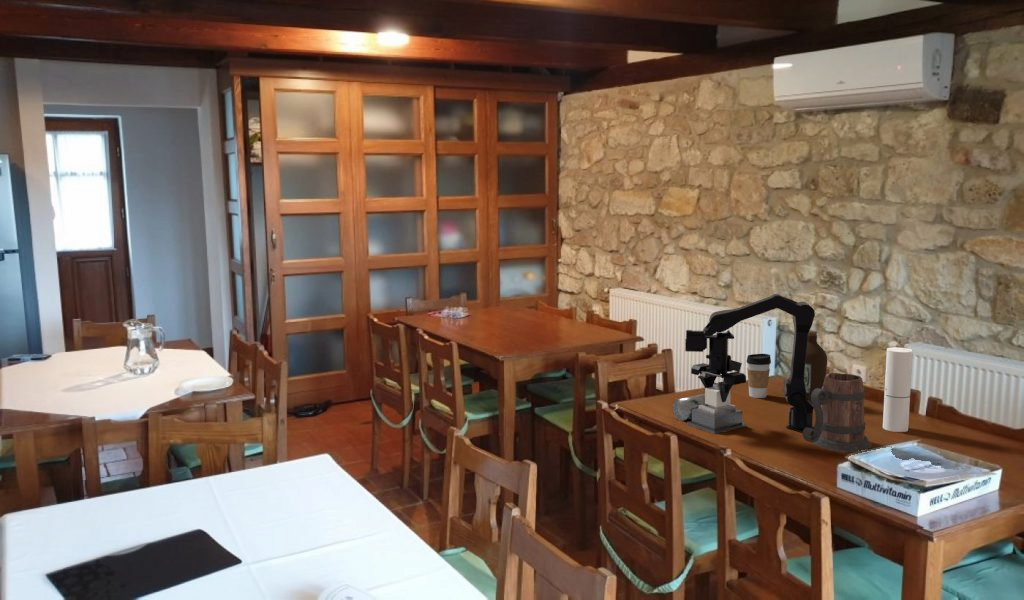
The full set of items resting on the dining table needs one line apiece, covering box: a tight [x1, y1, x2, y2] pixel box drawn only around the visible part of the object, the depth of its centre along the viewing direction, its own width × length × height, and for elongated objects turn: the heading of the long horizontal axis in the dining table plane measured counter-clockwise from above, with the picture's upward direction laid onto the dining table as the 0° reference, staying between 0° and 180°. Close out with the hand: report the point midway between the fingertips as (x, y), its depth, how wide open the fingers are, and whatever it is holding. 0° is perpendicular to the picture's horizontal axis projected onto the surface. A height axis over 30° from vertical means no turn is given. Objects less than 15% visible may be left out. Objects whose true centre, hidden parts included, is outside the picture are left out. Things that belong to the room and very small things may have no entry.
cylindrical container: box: [882, 346, 914, 433], centre depth 248 cm, size 7×7×25 cm
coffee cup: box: [746, 353, 772, 399], centre depth 288 cm, size 8×8×15 cm
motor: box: [672, 393, 748, 435], centre depth 259 cm, size 20×14×7 cm
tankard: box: [802, 372, 872, 453], centre depth 235 cm, size 24×17×20 cm
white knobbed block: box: [704, 382, 732, 407], centre depth 255 cm, size 5×6×6 cm
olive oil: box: [804, 330, 828, 405], centre depth 279 cm, size 11×11×25 cm
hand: (717, 400), depth 255 cm, fingers closed on white knobbed block, 5 cm apart
